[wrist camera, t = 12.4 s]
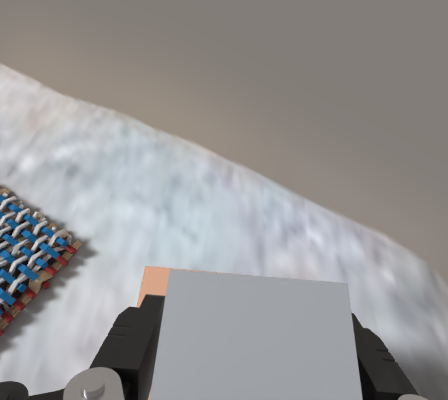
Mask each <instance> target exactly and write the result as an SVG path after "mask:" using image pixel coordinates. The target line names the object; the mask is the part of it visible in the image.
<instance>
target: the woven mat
mask: <svg viewBox="0 0 448 400" xmlns="http://www.w3.org/2000/svg"><path fill="white" fill-rule="evenodd" d="M9 194H10V192H9V191H8V189H7V188H5V189H0V204H1V205H0V242H1V241H2V240H3V239H4V240H6V241H5V242H3V243H1V244H0V284H1V283H3V282H5V281H7V282H8V283H10V284H9V285H8V286H7V287H6V288H4V287H2V286H1V285H0V336H1V335H2V334H3V333H4V331H3V329H4V328H5V327H6V326H7V325H8V323H9V324H10V322H11V321H12V320H13V319H14V317H15V316H16V315H17V314H18V313H19V312H20V311H22V310H23V308H24V307H25V306H26V304H27V303H28V302H29V301H30V300H31V299H33V298H34V297H35V296H36V295H37V293H38V292H39V290H40V287H41V285H42V286H43V287H44V288H46V289H47V288H48V287H49V285H50V283H49V282H48V281H46V280H48V279H50V278H52V277H53V276H54V275H55V274H56V273H57V272H58V270H59V269H60V268H61V267H62V266H65V265H66V264H67V263H68V260H69V258H70V257H71V256H72V255H74V254H75V253H76V251H77V250H78V248H79V247H80V246H81V244H82V243H81V242H79V241H78V240H77V241H76V242H74V243H73V244H72V245H71V239H72V236H71V235H69V233H68V232H67V230H66V229H65V228H64V229H62V230H58V231H55V230H56V227H57V225H55V224H54V223H53V222H52V223H51V224H50V225H48V226H47V227H45V225H46V224H48V222H47V221H44V220H45V219H46V218H44V217H43V214H42V213H39V212H35V213H34V214H33V215H32V217H31V216H30V214H31V213H30V209H29V208H27V209H24V210H23V208H24V205H22V201H19V203H18V204H17V203H15V202H14V200H16V199H17V198H16V197H15V196H13V197H11V198H8V199H6V198H7V197H8V196H9ZM11 201H12V202H11ZM23 220H25V221H26V222H25V223H23V224H21V225H19V223H21V222H22V221H23ZM43 221H44V222H43ZM12 229H14V230H15V231H14V232H13V234H12V236H10V235H9V234H10V233H11V230H12ZM39 231H40V233H39V234H38V232H39ZM37 234H38V235H37ZM67 236H68V237H67ZM65 237H67V241H65V240H64V238H65ZM47 239H48V240H47ZM46 240H47V243H46V244H45V243H43V242H44V241H46ZM58 245H59V246H60V247H58ZM38 247H39V248H40V249H41V251H39V252H38V253H36V254H35V252H36V250H37V248H38ZM61 250H66V251H65V252H64V253H63V254H62V255H60V254H59V253H57V251H61ZM11 252H12V253H11ZM10 253H11V254H10ZM51 257H52V258H54V259H55V261H54V262H53V263H52V264H51V265H49V264H48V263H47V261H48V260H49V259H50V258H51ZM3 259H5V260H4V261H2V260H3ZM28 259H30V260H29V263H28V265H27V266H26V265H25V264H23V263H22V262H24V261H26V260H28ZM1 261H2V262H1ZM6 264H7V265H6ZM4 265H6V266H5V267H4V268H3V267H2V266H4ZM41 267H42V268H43V269H42V270H40V271H38V270H39V269H40V268H41ZM16 268H17V269H18V270H20V271H21V273H20V274H19V275H18V276H17V277H14V276H13V274H14V271H15V269H16ZM28 278H30V281H29V284H28V286H26V285H25V284H23V283H24V282H25V281H26V280H27V279H28ZM17 289H18V290H19V291H20V292H21V293H22V292H23V294H22V295H21V296H20V297H19V298H18V299H17V298H16V297H15V296H14V295H12V294H13V293H14V292H15V291H16V290H17ZM6 302H7V303H8V304H10V305H12V306H11V307H9V305H8V304H7V303H6ZM1 304H2V305H3V306H2V305H1ZM3 307H4V308H5V309H4V308H3Z"/></svg>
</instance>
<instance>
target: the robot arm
mask: <svg viewBox="0 0 448 400" xmlns="http://www.w3.org/2000/svg"><path fill="white" fill-rule="evenodd" d="M165 297H166V296H163V295H152V294H146V295H145V297H144V299H143V301H142V303H141V305H140V307H139V308H138V307H128V308H127V309H126V310H124V311H123V312H122V313H121V314H119V315H118V317H117V319H116V321H115V322H114V324H113V327H112V328H111V330H110V331H109V333H108V336H107V337H106V339H105V340H104V342H103V344H102V346H101V348H100V349H99V351H98V353H97V355H96V357H95V358H94V360H93V362H92V364H91V366H90V368H89V369H87V370H85V371H83V372H81V373H79V374H77V375H76V376H75V377H73V378H72V379H71V380H70V381H69V383H68V384H67V386H66V387H65V388H64V389H61V390H58V391H54V392H49V393H44V394H38V395H33V396H29V395H28V390H27V388H26V387H25V386H24V385H23V384H21V383H19V382H13V381H7V382H1V383H0V400H148V397H149V394H150V390H151V386H152V380H153V374H154V367H155V361H156V354H157V348H158V341H159V335H160V329H161V322H162V316H163V309H164V303H165ZM351 314H352V322H353V329H354V337H355V345H356V353H357V360H358V368H359V376H360V383H361V391H362V399H363V400H428V399H426V398H424V397H421V396H419V395H418V393H417V392H416V390H415V389H414V388H413V386H412V385H411V383H410V382H409V380H408V379H407V377H406V376H405V374H404V373H403V371H402V370H401V368H400V367H399V365H398V364H397V362H395V359H394V358H393V356H392V355H391V354H390V353H389V352H388V349H387V348H386V346H385V345H384V343H383V342H382V340H381V339H380V338H379V337H378V336H377V335H375V334H374V333H373V332H372V331H371V330H369V329H368V328H363V327H362V326H361V324H360V322H359V321H358V319H357V318H356V316H355V315H354V314H353V313H351Z"/></svg>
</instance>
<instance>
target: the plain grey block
mask: <svg viewBox="0 0 448 400" xmlns="http://www.w3.org/2000/svg"><path fill="white" fill-rule="evenodd" d="M149 400H363V399H362V391H361V383H360V376H359V368H358V360H357V353H356V345H355V337H354V329H353V322H352V314H351V306H350V298H349V291H348V283H337V282H325V281H312V280H300V279H288V278H275V277H263V276H251V275H238V274H226V273H214V272H201V271H189V270H177V269H170V271H169V277H168V284H167V290H166V297H165V303H164V309H163V316H162V322H161V329H160V335H159V341H158V348H157V354H156V361H155V367H154V374H153V380H152V386H151V393H150V399H149Z"/></svg>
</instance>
